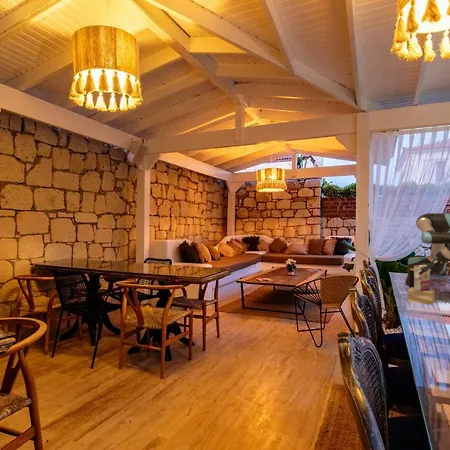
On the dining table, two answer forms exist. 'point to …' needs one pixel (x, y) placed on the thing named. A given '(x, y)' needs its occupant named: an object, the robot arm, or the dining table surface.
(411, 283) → the coffee jar
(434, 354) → the dining table surface
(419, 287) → the candy bar box
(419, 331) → the dining table surface
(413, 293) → the ash block
